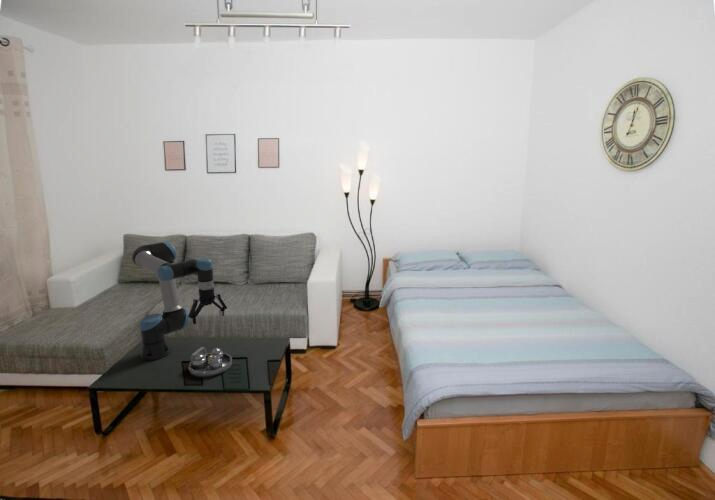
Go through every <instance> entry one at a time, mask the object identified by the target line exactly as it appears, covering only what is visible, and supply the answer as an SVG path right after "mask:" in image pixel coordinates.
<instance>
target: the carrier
mask: <svg viewBox="0 0 715 500" xmlns="http://www.w3.org/2000/svg"><path fill="white" fill-rule="evenodd" d="M213 356H214V357H213ZM216 356H219V357H220V359H222V367H221V368H218V369H216V370H211V371H210V370H209V366H208V361H210V358H211V357H213V359H216ZM192 361H193V367H191V361H189V364H188V371H189V374H190V375H191V376H193V377H196V378H211V377H212V378H213V377H216V376H219V375H221V374H224V373H225V372H227V371H228V370H229V369H231V367H232V364H233V357H232V355H230V354H229V353H227V352H224V351H223V350H221V348H220V347H215V348H213V349H211V352H206V355H203V354H197V355H195V356H194V360H192Z"/></svg>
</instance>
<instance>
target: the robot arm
mask: <svg viewBox="0 0 715 500" xmlns="http://www.w3.org/2000/svg"><path fill="white" fill-rule="evenodd" d="M131 256H132V257H131V260H132V262H133V264H134V265H135V266H137V267H139V268H143V269H147V270H149V271H151V272H154V273H155V274H157V278H158V283H159V287H160V292H161V293H160V294H161V297H162V302H163V307H164V309H163V310H162V311H161V312H162V314H160V313H152V314H149V315H146V316H145V317H143V318H142V319H141V320H140V322H139V326H140V327H139V331H140V334H141V342H142V345H141V350H140V358H141V360H143V361H156V360H160V359H163V358H165V357H166V356H168V355H169V354H170V347H169V345H168V344H167V341H166V339H165V335H169V334H171V333H174V332H177V331H181V330H183V329H185V328H187V327H188V325H189V324H190V319H192V324H193V325H194V328H195V330H197V331H199V319H198V315H199V313H200V312H202V309H203V308H204V307H206V306H209V305H210V306H211V305H212V304H213V305H214V306H215V307H217V308H218V309H219V310H218V319H219V322H220V323H221V324H223V323H224V316H225V311H226V310H227V309H228V306H227V305H226V303H225V301H224V300H223V299H222V297H221V296H222V295H221V294H219V292H218V293H215V288H214V287H215V285H214V274H213V273H214V271H213V263H212V260H211V258H205V257H204V258H199V259H194V258H188V259H186V260H185V261H183V262H182V261H181V262H177V263H175V260H177V256H178V254H177V250H176V248H175V247H174V245H173V244H172V243H171V242H169V241H163V242H162V241H161V242H156V243H152V244H151V243H149V244H145V245H141V246H138V247H137V248H136V249H134V251H133V253H132V254H131ZM193 275H195V276H197V285H198V295H199V298H197V299H196V298H193V299H192V300H193V301H192V302H193V303H192V305H191V308H190V309H189V310H190V311H189V312H188V309H186V308H184V306H183V305H182V304H181V303H180V299H179V298H180V297H179V294H178V289H177V288H178V287H177V284H176V279H179V278H184V277H188V276H193ZM215 299H217V300H218V302H219V303H217V302H216V301H215Z"/></svg>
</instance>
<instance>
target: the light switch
mask: <svg viewBox="0 0 715 500" xmlns="http://www.w3.org/2000/svg"><path fill="white" fill-rule="evenodd" d="M197 354H203V355H206V354H207V349H206V347H204V346H201V347H200V348H198V349H197V350H196V351H194V352H193V353H192V354H191V355H190V362H191V367H193V361H192V360H194V356H195V355H197Z"/></svg>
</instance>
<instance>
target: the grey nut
mask: <svg viewBox="0 0 715 500" xmlns="http://www.w3.org/2000/svg"><path fill="white" fill-rule="evenodd" d="M213 357H214V356H213ZM213 357H211V358H210V361H208V366H209V370H210V371H211V370H216V369H218V368H221V367H222V359H220V357H219V356H216V359H213Z"/></svg>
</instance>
